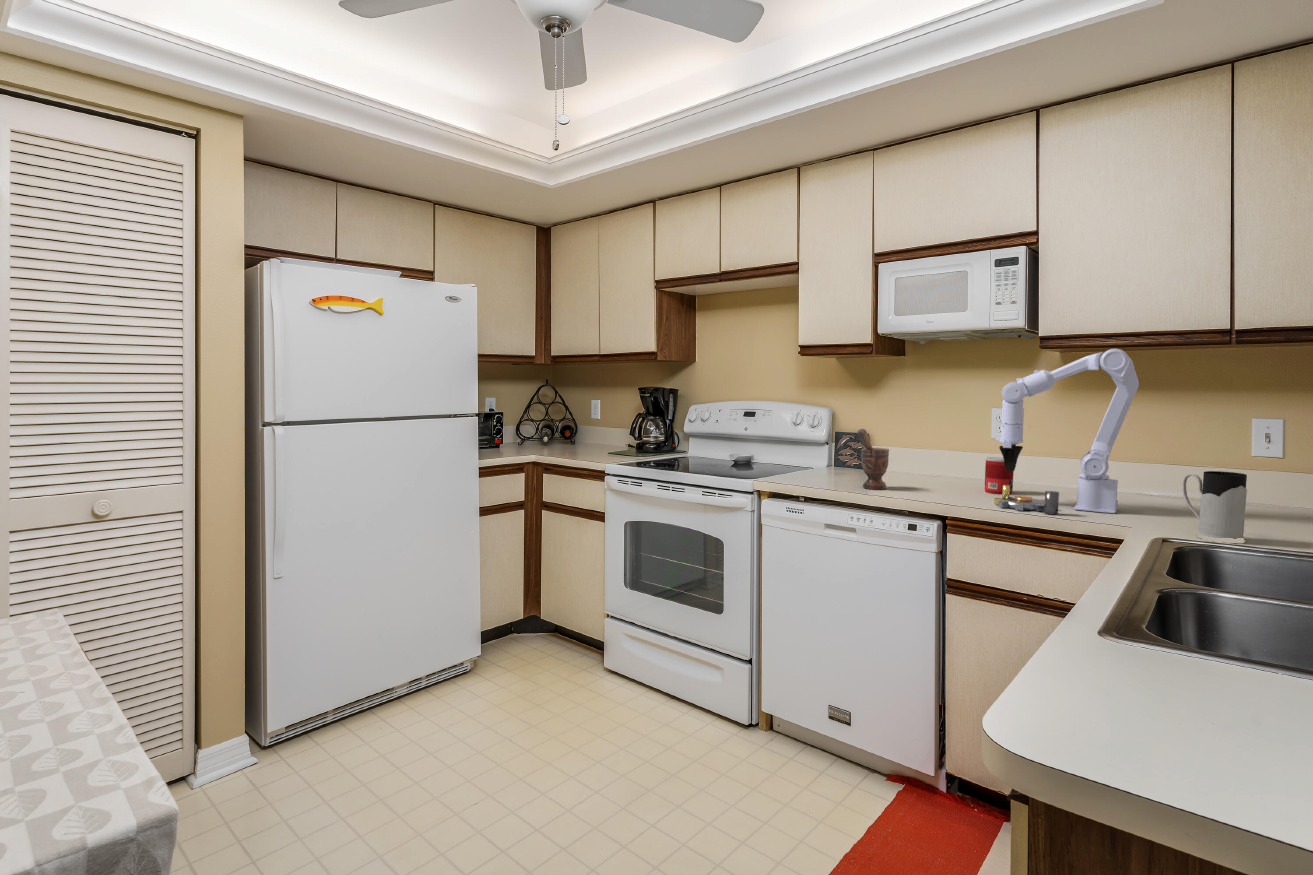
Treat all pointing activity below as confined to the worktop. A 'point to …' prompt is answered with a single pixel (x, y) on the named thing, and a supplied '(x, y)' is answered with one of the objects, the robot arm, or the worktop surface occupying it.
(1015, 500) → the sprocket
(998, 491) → the canned food
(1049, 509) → the roller
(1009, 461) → the robot arm
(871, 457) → the mortar and pestle
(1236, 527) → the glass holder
